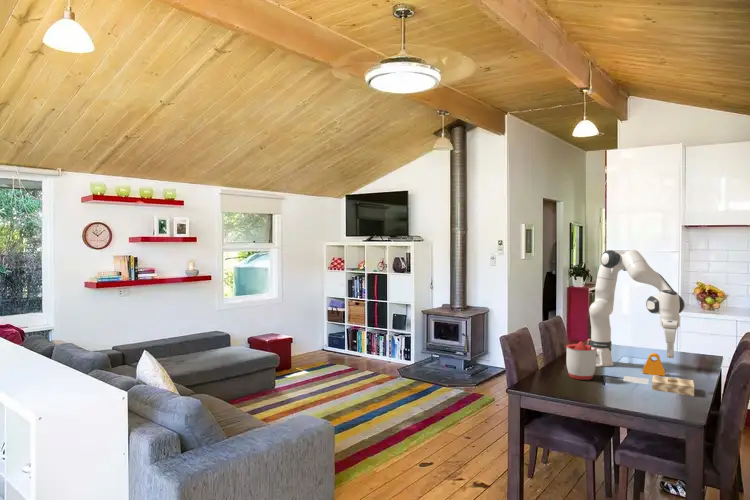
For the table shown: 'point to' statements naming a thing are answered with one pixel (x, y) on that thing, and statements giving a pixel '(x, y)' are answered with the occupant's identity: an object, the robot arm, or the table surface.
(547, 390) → the table surface
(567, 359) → the citrus juicer
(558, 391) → the table surface
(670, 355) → the steel pin
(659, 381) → the oak hole block
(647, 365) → the bracket
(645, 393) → the table surface
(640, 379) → the rubber mat
